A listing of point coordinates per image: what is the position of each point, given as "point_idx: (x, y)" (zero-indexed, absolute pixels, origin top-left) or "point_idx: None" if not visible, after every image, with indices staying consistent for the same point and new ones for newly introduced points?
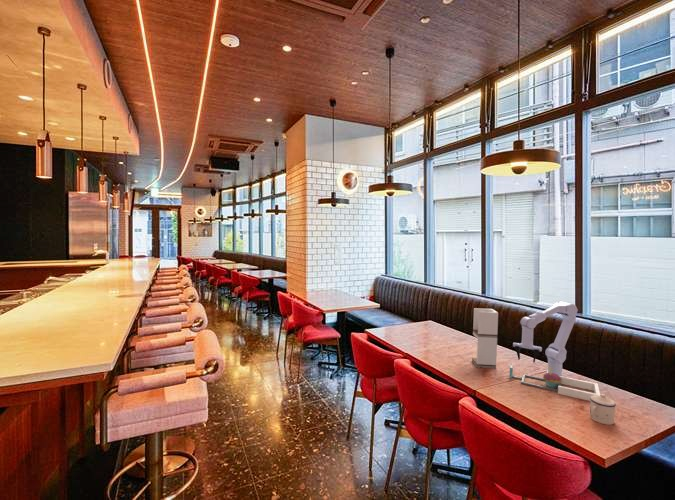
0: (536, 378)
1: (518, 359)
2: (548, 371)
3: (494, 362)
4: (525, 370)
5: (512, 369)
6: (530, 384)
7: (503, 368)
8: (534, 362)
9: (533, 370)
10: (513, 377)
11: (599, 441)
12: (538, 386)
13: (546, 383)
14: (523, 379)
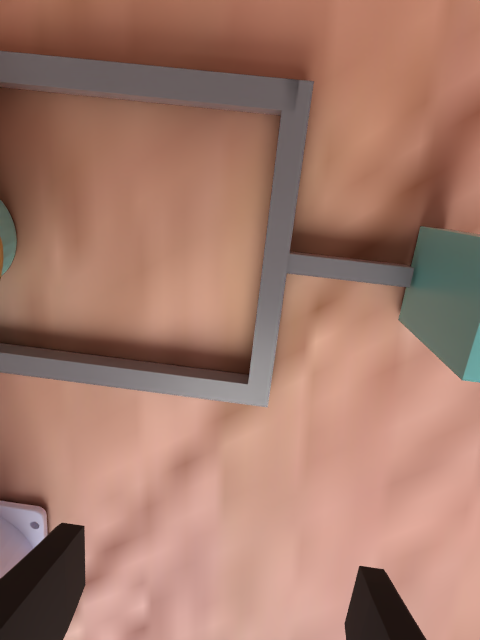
0: (126, 362)
1: (383, 573)
2: (9, 566)
3: None
4: (239, 563)
5: (459, 301)
6: (187, 70)
7: (471, 527)
8: (56, 528)
9: (166, 591)
10: (395, 264)
11: None
12: (87, 60)
13: (4, 227)
14: (275, 206)
